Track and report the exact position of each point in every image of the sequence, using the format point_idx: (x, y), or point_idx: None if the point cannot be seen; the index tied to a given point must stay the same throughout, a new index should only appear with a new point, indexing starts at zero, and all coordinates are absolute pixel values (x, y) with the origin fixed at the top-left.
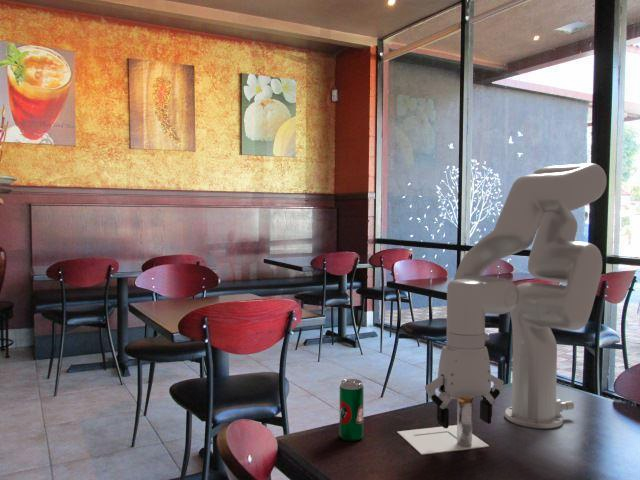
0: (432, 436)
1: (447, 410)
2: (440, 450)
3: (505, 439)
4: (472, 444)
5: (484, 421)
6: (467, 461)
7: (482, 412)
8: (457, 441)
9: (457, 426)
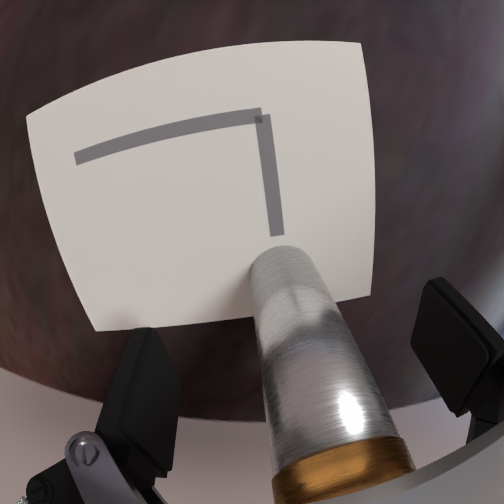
0: (156, 174)
1: (163, 471)
2: (161, 318)
3: (452, 235)
4: None
5: (416, 321)
6: (235, 378)
7: (443, 332)
8: (250, 283)
9: (255, 328)
